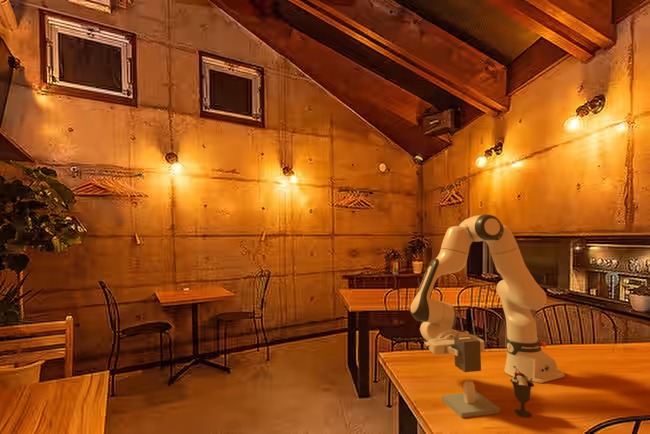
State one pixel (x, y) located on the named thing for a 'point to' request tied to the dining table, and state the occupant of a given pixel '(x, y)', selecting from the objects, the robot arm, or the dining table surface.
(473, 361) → the slotted ballot box
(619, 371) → the dining table surface
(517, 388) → the sundae
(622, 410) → the dining table surface
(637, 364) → the dining table surface
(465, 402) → the post
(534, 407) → the dining table surface
